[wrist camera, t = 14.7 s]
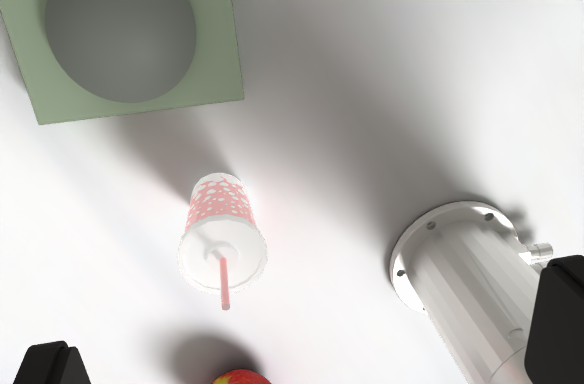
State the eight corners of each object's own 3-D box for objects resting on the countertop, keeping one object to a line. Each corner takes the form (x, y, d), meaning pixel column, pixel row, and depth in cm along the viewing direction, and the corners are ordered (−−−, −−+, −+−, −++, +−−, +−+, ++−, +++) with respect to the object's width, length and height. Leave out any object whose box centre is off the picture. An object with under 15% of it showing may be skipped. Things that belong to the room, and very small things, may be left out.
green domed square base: (217, -94, 33) (219, -97, 29) (241, 88, 38) (245, 103, 35) (-9, -75, 31) (-36, -75, 28) (50, 111, 37) (34, 130, 33)
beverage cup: (171, 176, 41) (157, 282, 28) (244, 154, 41) (261, 251, 28) (196, 237, 44) (193, 357, 31) (264, 217, 44) (287, 329, 31)
